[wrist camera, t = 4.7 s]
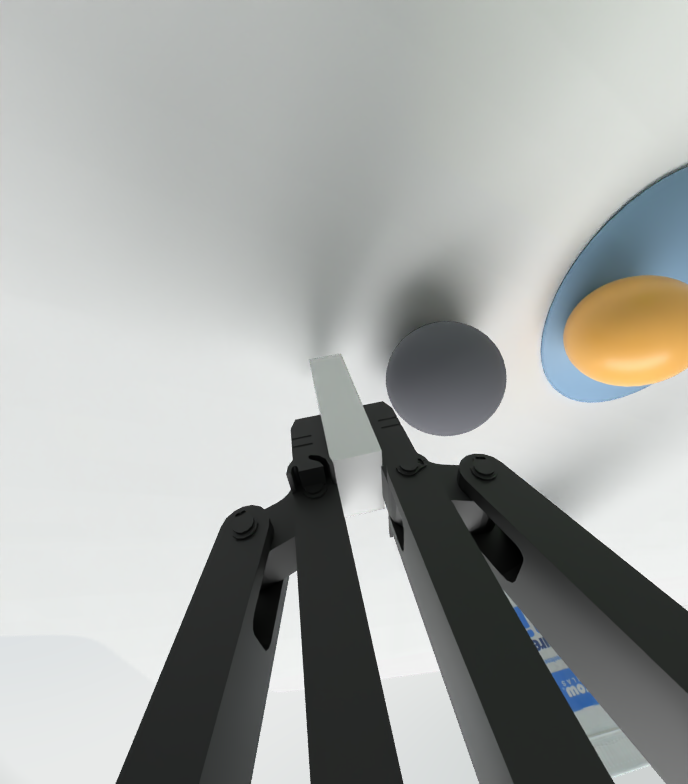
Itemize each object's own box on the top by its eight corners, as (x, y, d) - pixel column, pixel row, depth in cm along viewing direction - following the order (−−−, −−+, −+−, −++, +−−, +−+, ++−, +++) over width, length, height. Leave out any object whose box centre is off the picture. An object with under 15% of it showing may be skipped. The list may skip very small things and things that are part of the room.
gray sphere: (559, 399, 12) (507, 335, 16) (448, 333, 11) (424, 283, 15) (460, 474, 15) (439, 404, 19) (364, 430, 14) (365, 365, 18)
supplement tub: (511, 525, 30) (676, 756, 17) (534, 559, 35) (675, 756, 22) (425, 571, 31) (521, 811, 19) (459, 597, 36) (552, 799, 24)
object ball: (678, 356, 12) (790, 328, 12) (588, 260, 14) (686, 241, 15) (578, 414, 16) (662, 391, 17) (524, 335, 19) (600, 318, 20)
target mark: (513, 284, 16) (515, 285, 16) (801, 77, 13) (808, 76, 13) (565, 432, 23) (567, 434, 23) (758, 318, 21) (762, 319, 21)
